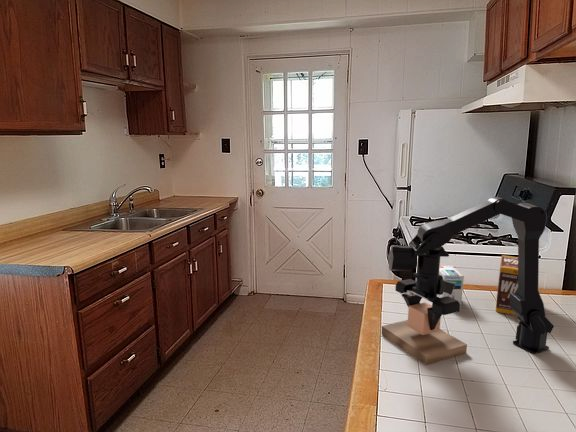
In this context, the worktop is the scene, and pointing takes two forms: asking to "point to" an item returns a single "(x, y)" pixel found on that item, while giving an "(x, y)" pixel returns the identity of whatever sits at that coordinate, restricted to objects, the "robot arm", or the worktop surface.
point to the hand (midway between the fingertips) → (423, 324)
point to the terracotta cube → (420, 319)
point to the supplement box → (507, 283)
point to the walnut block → (424, 343)
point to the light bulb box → (453, 277)
